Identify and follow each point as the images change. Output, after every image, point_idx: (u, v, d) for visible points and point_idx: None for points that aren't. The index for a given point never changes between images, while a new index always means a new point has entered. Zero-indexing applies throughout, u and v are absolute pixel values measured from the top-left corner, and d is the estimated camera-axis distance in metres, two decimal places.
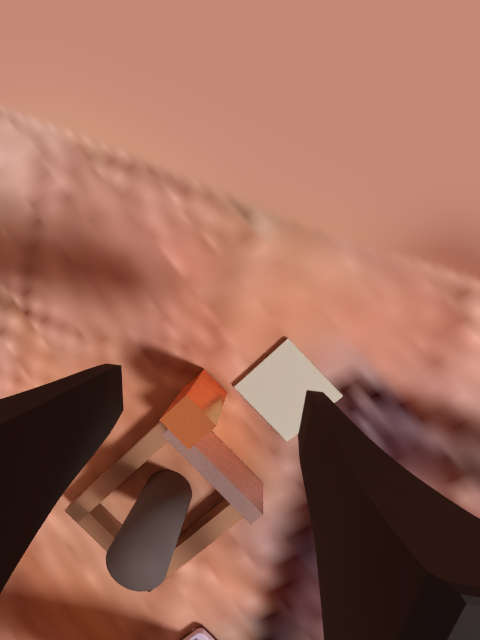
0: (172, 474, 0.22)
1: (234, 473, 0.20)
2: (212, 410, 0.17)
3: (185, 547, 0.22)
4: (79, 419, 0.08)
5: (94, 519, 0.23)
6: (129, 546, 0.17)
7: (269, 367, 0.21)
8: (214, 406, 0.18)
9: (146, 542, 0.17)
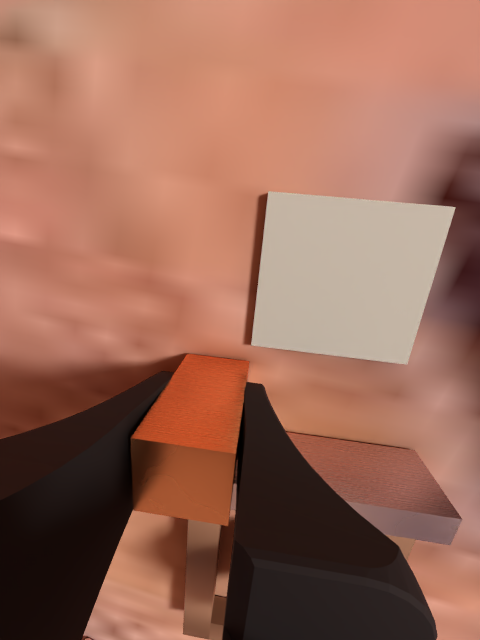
0: None
1: (356, 477, 0.10)
2: (218, 421, 0.08)
3: None
4: None
5: None
6: None
7: (279, 268, 0.10)
8: (222, 408, 0.08)
9: None
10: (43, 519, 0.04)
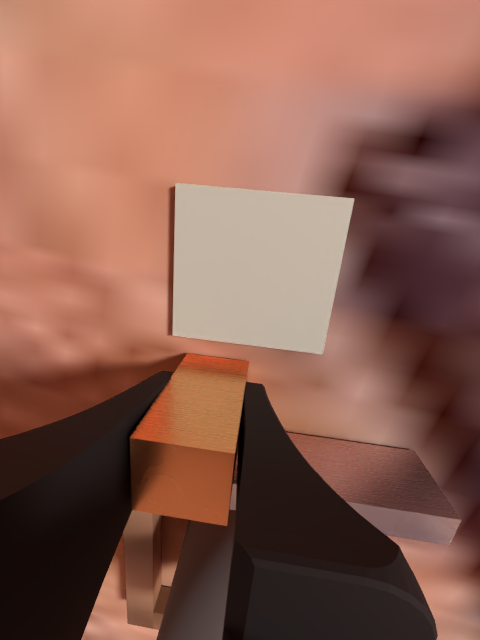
0: None
1: (355, 477, 0.10)
2: (217, 421, 0.08)
3: None
4: None
5: None
6: None
7: (192, 259, 0.10)
8: (222, 407, 0.08)
9: None
10: (42, 519, 0.04)
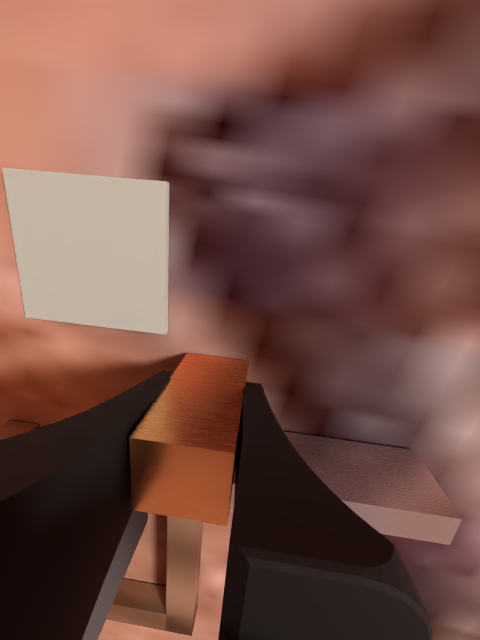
0: None
1: (355, 476, 0.10)
2: (217, 420, 0.08)
3: (175, 566, 0.14)
4: None
5: None
6: None
7: (30, 241, 0.10)
8: (221, 407, 0.08)
9: None
10: (44, 519, 0.04)
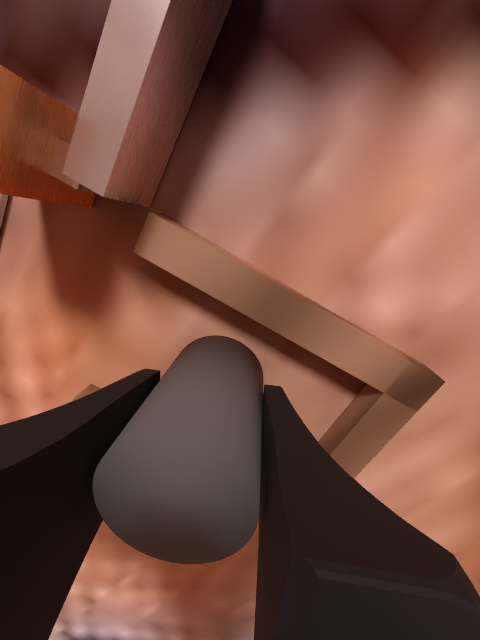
0: None
1: None
2: None
3: (297, 330, 0.10)
4: None
5: None
6: (134, 522, 0.07)
7: None
8: None
9: (100, 490, 0.07)
10: (2, 512, 0.04)
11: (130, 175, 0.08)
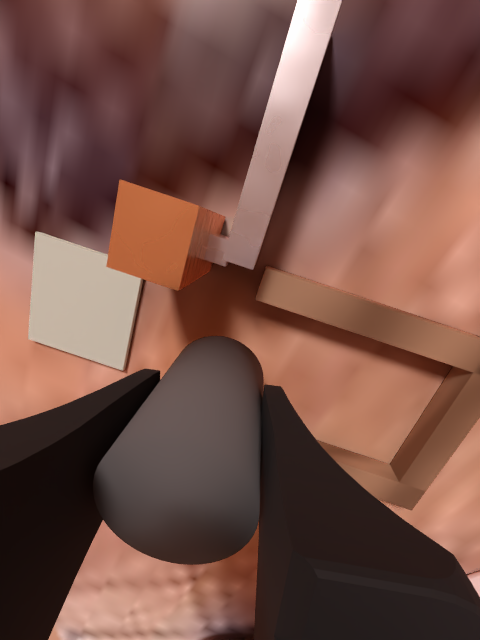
0: None
1: None
2: None
3: (394, 335, 0.12)
4: None
5: (406, 472, 0.14)
6: (135, 523, 0.07)
7: (71, 342, 0.15)
8: None
9: (101, 490, 0.07)
10: (1, 512, 0.04)
11: None
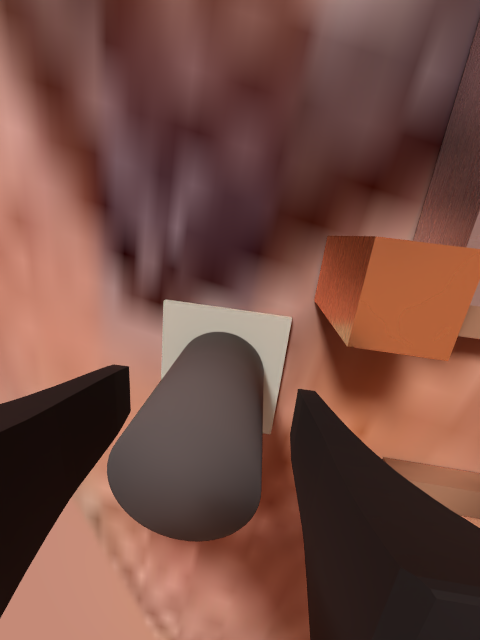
0: None
1: None
2: (354, 260, 0.07)
3: None
4: (88, 421, 0.08)
5: None
6: (146, 502, 0.07)
7: None
8: (347, 257, 0.08)
9: (114, 472, 0.07)
10: None
11: None
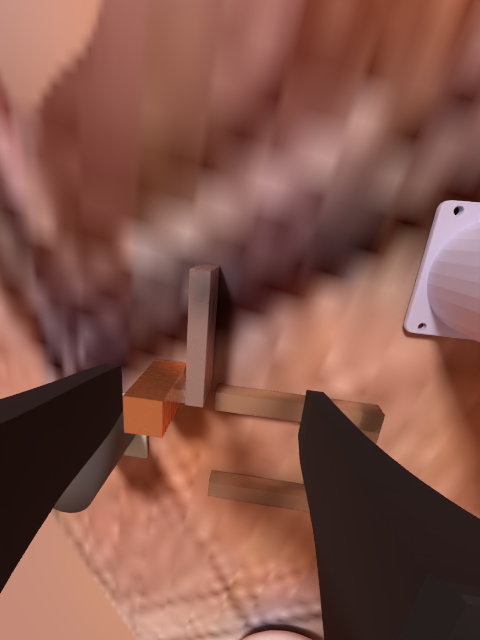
0: None
1: None
2: None
3: None
4: (79, 419, 0.08)
5: None
6: None
7: None
8: None
9: None
10: None
11: (206, 389, 0.19)
